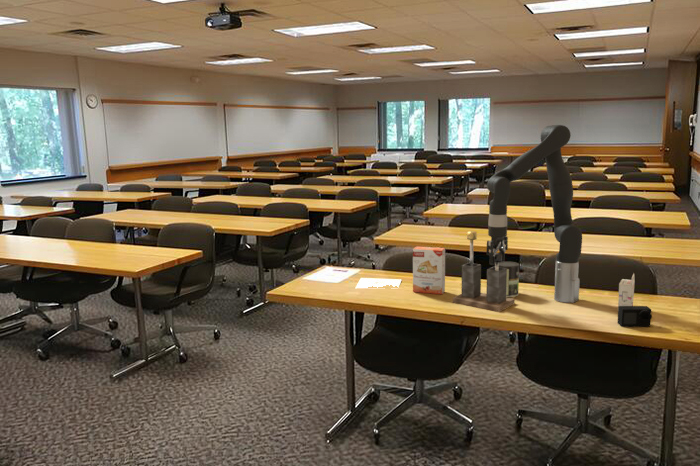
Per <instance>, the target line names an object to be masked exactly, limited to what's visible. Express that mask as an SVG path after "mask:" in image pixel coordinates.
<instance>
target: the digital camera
mask: <svg viewBox="0 0 700 466" xmlns="http://www.w3.org/2000/svg"><path fill="white" fill-rule="evenodd" d="M651 320H652V309H651V308H650V307H649V306H647V305H633V306H617V325H619V326H620V327H621V328H650V327H651V323H652V322H651Z"/></svg>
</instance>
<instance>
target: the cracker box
mask: <svg viewBox="0 0 700 466" xmlns="http://www.w3.org/2000/svg"><path fill="white" fill-rule="evenodd" d="M445 290H446V247H432V246H431V247H429V246H418V245H417V246H415V247H414V248H412V292H414V293H424V294H431V295H432V294H433V295H443V294H444V292H445Z"/></svg>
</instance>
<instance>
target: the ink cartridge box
mask: <svg viewBox="0 0 700 466" xmlns="http://www.w3.org/2000/svg"><path fill="white" fill-rule="evenodd" d="M635 283H636V282H635V273H633V274H632V276H631V279H626V278H625V279H624V278H622V279H621V280H620V282H619V283H618V303H617V305H618V306H634V295H635ZM618 306H617V307H618Z"/></svg>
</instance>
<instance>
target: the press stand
mask: <svg viewBox="0 0 700 466" xmlns="http://www.w3.org/2000/svg"><path fill="white" fill-rule="evenodd" d="M506 280H507V268H500V267H499V271H497V270H495V266H492V267H489V268H487V269H486V293H483V292H481V291H482V290H481V289H482V285H481V284H482V265H481V264H480V263H479V264H478V263H474V262H473V267H471V266H470V262H467V263H465V264H464V263H463V264H461V293H460V294H458V295H456V296H454V297H452V303H455V304H459V305H464V306H470V307H474V308H478V309H484V310H489V311H494V312H497V313H500V312H501V311H503V310H505V309H508V308H509V307H511V306H513V305H515V298H513V297H506Z"/></svg>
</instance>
